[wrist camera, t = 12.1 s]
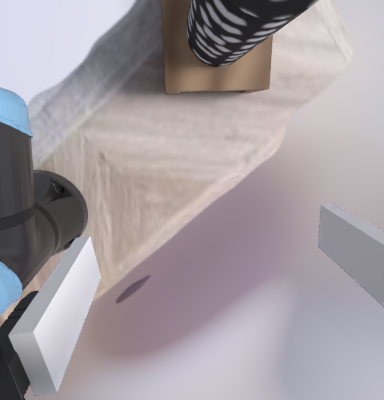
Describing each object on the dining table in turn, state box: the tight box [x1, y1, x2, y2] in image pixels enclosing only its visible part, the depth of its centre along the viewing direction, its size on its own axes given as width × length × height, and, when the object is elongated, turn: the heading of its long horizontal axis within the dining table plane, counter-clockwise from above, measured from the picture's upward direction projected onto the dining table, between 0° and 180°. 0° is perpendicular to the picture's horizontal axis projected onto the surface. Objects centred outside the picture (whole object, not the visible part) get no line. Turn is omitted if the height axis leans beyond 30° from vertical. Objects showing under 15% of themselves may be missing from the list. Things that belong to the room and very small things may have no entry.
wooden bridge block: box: [161, 0, 273, 94], centre depth 37 cm, size 14×14×8 cm
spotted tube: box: [186, 0, 318, 67], centre depth 24 cm, size 8×8×20 cm
